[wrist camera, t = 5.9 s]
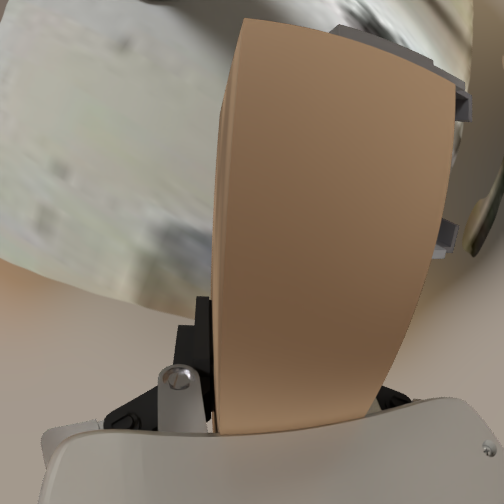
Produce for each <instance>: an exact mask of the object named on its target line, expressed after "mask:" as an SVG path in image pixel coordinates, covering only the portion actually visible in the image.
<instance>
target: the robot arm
mask: <svg viewBox="0 0 504 504" xmlns="http://www.w3.org/2000/svg"><path fill="white" fill-rule="evenodd" d="M211 412H214V352H213V320H212V300H209V297H203V296H197V298H196V311H195V326H192V325H179V326H178V331H177V338H176V346H175V354H174V361H173V365H170V366H168V367H166V368H164V369H163V370H162V371H161V372H160V374H159V377H158V386H156V387H154V388H153V389H151V390H149V391H147V392H146V393H144V394H142V395H140V396H139V397H137V398H135V399H133V400H132V401H130V402H128V403H127V404H125V405H123V406H121V407H119V408H117V409H116V410H114V411H112V412H111V413H110V414H108V415H107V416H106V418H105V419H104V420H103V421H100V422H97V421H96V419H95V420H91V421H86V422H82V423H76V424H72V425H66V426H61V427H55V428H51V429H48V430H47V431H46V432H44V433H43V435H42V438H41V447H42V452H43V457H44V462H45V466H46V472H45V475H44V478H43V482H42V486H41V490H40V495H39V500H38V504H504V448H503V447H502V445H501V444H500V442H499V441H498V439H497V438H496V436H495V435H494V433H493V432H492V430H491V429H490V428H489V426H488V425H487V424H486V422H485V421H484V420H483V419H482V418H481V416H480V415H479V414H478V413H477V412H476V411H475V410H474V409H473V408H472V407H471V406H470V405H469V404H468V403H467V402H465V401H463V400H461V399H457V398H450V397H439V398H431V399H425V400H421V399H413V400H412V401H411V400H410V398H409V397H407V396H406V395H404V394H402V393H400V392H397V391H395V390H392V389H390V388H387V387H384V386H381V388H380V390H379V392H378V394H377V396H376V397H375V399H374V401H373V403H372V405H371V406H370V408H369V410H368V412H367V414H366V415H365V417H362V418H357V419H353V420H348V421H344V422H339V423H334V424H328V425H322V426H316V427H310V428H303V429H296V430H288V431H279V432H268V433H255V434H236V435H220V433H208V430H207V424H206V422H208V421H209V420H210V419H211Z"/></svg>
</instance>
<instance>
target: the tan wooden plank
mask: <svg viewBox="0 0 504 504" xmlns="http://www.w3.org/2000/svg"><path fill="white" fill-rule="evenodd" d="M454 125H455V84H454V83H452V82H450V81H448V80H447V79H445V78H443V77H441V76H439V75H437V74H435V73H433V72H431V71H429V70H427V69H425V68H423V67H421V66H419V65H417V64H415V63H412V62H410V61H408V60H406V59H403V58H401V57H399V56H396V55H394V54H391V53H389V52H386V51H383V50H381V49H378V48H375V47H373V46H370V45H367V44H364V43H361V42H358V41H355V40H352V39H348V38H345V37H341V36H338V35H334V34H331V33H327V32H323V31H319V30H315V29H310V28H306V27H301V26H296V25H291V24H285V23H279V22H273V21H266V20H258V19H249V18H244V20H243V23H242V27H241V31H240V34H239V38H238V42H237V45H236V49H235V53H234V57H233V61H232V65H231V69H230V73H229V77H228V81H227V85H226V90H225V94H224V98H223V103H222V107H221V112H220V119H219V132H218V145H217V159H216V175H215V192H214V212H213V236H212V266H211V300H212V320H213V352H214V412H212V424H213V433H220V435H236V434H255V433H268V432H279V431H288V430H296V429H303V428H310V427H316V426H322V425H328V424H334V423H339V422H344V421H348V420H353V419H357V418H362V417H365V415H366V414H367V412H368V410H369V408H370V406H371V405H372V403H373V401H374V399H375V397H376V396H377V394H378V392H379V390H380V388H381V386H382V384H383V382H384V380H385V378H386V376H387V374H388V372H389V370H390V368H391V366H392V364H393V362H394V359H395V357H396V355H397V353H398V351H399V348H400V346H401V344H402V342H403V339H404V337H405V334H406V332H407V330H408V327H409V325H410V322H411V319H412V317H413V314H414V312H415V308H416V306H417V303H418V300H419V297H420V295H421V291H422V289H423V286H424V283H425V280H426V276H427V273H428V270H429V266H430V263H431V259H432V256H433V252H434V249H435V245H436V241H437V237H438V233H439V228H440V224H441V219H442V215H443V210H444V205H445V199H446V194H447V188H448V181H449V175H450V168H451V159H452V150H453V139H454Z"/></svg>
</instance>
